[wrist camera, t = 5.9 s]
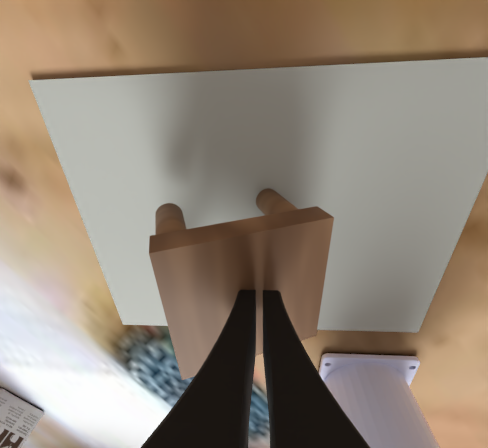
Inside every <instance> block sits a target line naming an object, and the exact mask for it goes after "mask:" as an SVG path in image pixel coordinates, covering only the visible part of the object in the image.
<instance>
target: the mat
mask: <svg viewBox="0 0 488 448" xmlns="http://www.w3.org/2000/svg"><path fill="white" fill-rule="evenodd" d="M28 81H29V83H30V86H31V88H32V91H33V94H34V96H35V99H36V101H37V104H38V106H39V109H40V112H41V114H42V117H43V119H44V122H45V125H46V127H47V130H48V132H49V135H50V137H51V140H52V143H53V145H54V148H55V150H56V153H57V155H58V158H59V161H60V163H61V166H62V168H63V171H64V174H65V176H66V179H67V181H68V184H69V186H70V189H71V192H72V194H73V197H74V199H75V202H76V204H77V207H78V210H79V212H80V215H81V217H82V220H83V222H84V225H85V228H86V230H87V233H88V235H89V238H90V241H91V243H92V246H93V248H94V251H95V253H96V256H97V259H98V261H99V264H100V266H101V269H102V271H103V274H104V277H105V279H106V282H107V284H108V287H109V290H110V292H111V295H112V297H113V300H114V302H115V305H116V308H117V310H118V313H119V315H120V318H121V320H122V323H123V324H124V325H161V326H168V324H167V320H166V317H165V313H164V309H163V305H162V301H161V298H160V294H159V290H158V286H157V282H156V279H155V275H154V271H153V267H152V263H151V260H150V256H149V239H150V236H151V235H155V214H156V211H157V209H158V208H159V207H160V206H161V205H163V204H166V203H173V204H176V205H177V206H179V207H180V208H181V210H182V212H183V216H184V221H185V225H186V229H191V228H196V227H202V226H208V225H213V224H219V223H225V222H230V221H236V220H242V219H247V218H253V217H259V216H264V213H263V212H262V211H261V210H260V209H259V208H258V207H257V205H256V198H257V195H258V194H259V193H260V192H261V191H262V190H264V189H267V188H270V189H273V190H275V191H276V192H277V193H278V194H280V195H281V196H282V197H284V198H285V199H286V200H288V201H289V202H290V203H291V204H293V205H294V206H295V207H297V208H298V209H304V208H309V207H315V206H318V207H319V208H321V209H322V210H324V211H325V212H327V213H328V214H330V215H331V216H333V217H334V222H333V228H332V235H331V241H330V248H329V255H328V261H327V268H326V274H325V281H324V288H323V294H322V301H321V307H320V314H319V321H318V327H317V330H344V331H381V332H419V329H420V327H421V325H422V322H423V320H424V318H425V315H426V313H427V311H428V309H429V306H430V304H431V302H432V299H433V297H434V295H435V292H436V290H437V288H438V286H439V283H440V281H441V279H442V276H443V274H444V272H445V269H446V267H447V265H448V263H449V260H450V258H451V256H452V253H453V251H454V249H455V246H456V244H457V242H458V239H459V237H460V235H461V233H462V230H463V228H464V226H465V223H466V221H467V219H468V216H469V214H470V212H471V210H472V207H473V205H474V203H475V200H476V198H477V196H478V193H479V191H480V189H481V186H482V184H483V182H484V180H485V177H486V175H487V173H488V57H481V58H461V59H441V60H422V61H402V62H382V63H362V64H343V65H323V66H303V67H283V68H264V69H244V70H224V71H204V72H185V73H165V74H145V75H125V76H106V77H86V78H66V79H46V80H28Z"/></svg>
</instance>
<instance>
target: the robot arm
mask: <svg viewBox="0 0 488 448" xmlns="http://www.w3.org/2000/svg"><path fill="white" fill-rule="evenodd" d="M255 354H256V290H240V291H238V294H237V297H236V300H235V303H234V306H233V308H232V310H231V313H230V315H229V317H228V319H227V321H226V324H225V326H224V328H223V330H222V332H221V334H220V336H219V337H218V339H217V341H216V343H215V345H214V346H213V348H212V350H211V352H210V353H209V355H208V357H207V358H206V360H205V362H204V363H203V365H202V366H201V368H200V370H199V371H198V373H197V374H196V376H195V377H194V379H193V380H192V382H191V383H190V385H189V386H188V387H187V389H186V390H185V392H184V393H183V394H182V396H181V397H180V399H179V400H178V401H177V403H176V404H175V405H174V407H173V408H172V409H171V411H170V412H169V413H168V415H167V416H166V417H165V419H164V420H163V421H162V422H161V423H160V425H159V426H158V427H157V428H156V430H155V431H154V432H153V433H152V434H151V436H150V437H149V438H148V439H147V441H146V442H145V443H144V444H143V445H142V447H141V448H248V430H249V414H250V404H251V394H252V384H253V374H254V364H255ZM263 357H264V367H265V378H266V388H267V399H268V409H269V423H270V448H440V447H439V445H438V443H437V441H436V439H435V437H434V435H433V433H432V431H431V429H430V427H429V425H428V423H427V421H426V419H425V417H424V415H423V413H422V411H421V409H420V407H419V405H418V403H417V401H416V399H415V397H414V395H413V393H412V391H411V389H410V387H409V386H410V384H411V381H412V379H413V377H414V375H415V373H416V371H417V369H418V367H419V365H420V361H419V359H418V358H417V357H415V356H393V355H364V354H334V353H326V354H324V355H322V358H321V363H320V369H319V373H318V372H317V370H316V368H315V366H314V365H313V363H312V361H311V360H310V358H309V356H308V354H307V352H306V351H305V349H304V347H303V345H302V343H301V341H300V339H299V337H298V335H297V333H296V331H295V329H294V327H293V325H292V323H291V320H290V318H289V316H288V313H287V311H286V308H285V306H284V303H283V300H282V296H281V293H280V292H279V291H278V290H263Z"/></svg>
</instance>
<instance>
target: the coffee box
mask: <svg viewBox="0 0 488 448" xmlns="http://www.w3.org/2000/svg"><path fill="white" fill-rule="evenodd" d="M43 414H44V412H43V411H41V410H39V409H38V408H36V407H34V406H32V405H30V404H29V403H27V402H25V401H23V400H22V399H20V398H18V397H16V396H14V395H13V394H11V393H9V392H8V391H6V390H4V389H2V388H0V448H21V446H22V445H23V443H24V442H25V441H26V439H27V438H28V436H29V435H30V433H31V432H32V430H33V429H34V427H35V426H36V424H37V423H38V422H39V420H40V419H41V417H42V416H43Z"/></svg>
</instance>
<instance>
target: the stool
mask: <svg viewBox="0 0 488 448" xmlns="http://www.w3.org/2000/svg"><path fill="white" fill-rule="evenodd" d="M256 205H257V207H258V208H259V209H260V210H261V211H262V212H263V213H264V216H259V217H253V218H247V219H242V220H236V221H230V222H225V223H219V224H213V225H208V226H202V227H196V228H191V229H186V225H185V221H184V216H183V212H182V210H181V208H180V207H179V206H177V205H176V204H173V203H166V204H163V205H161V206H160V207H159V208H158V209H157V211H156V214H155V235H151V236H150V239H149V256H150V260H151V263H152V267H153V271H154V275H155V279H156V282H157V286H158V290H159V294H160V298H161V301H162V305H163V309H164V313H165V317H166V320H167V324H168V328H169V332H170V336H171V339H172V343H173V347H174V351H175V355H176V358H177V362H178V366H179V370H180V374H181V377H182V380H184V379H187V378H190V377H193V376H196V374H197V373H198V371H199V370H200V368H201V366H202V365H203V363H204V362H205V360H206V358H207V357H208V355H209V353H210V352H211V350H212V348H213V346H214V345H215V343H216V341H217V339H218V337H219V336H220V334H221V332H222V330H223V328H224V326H225V324H226V321H227V319H228V317H229V315H230V313H231V310H232V308H233V306H234V303H235V300H236V297H237V294H238V291H240V290H256V354H255V356H256V355H259V354H262V353H263V290H278V291H279V292H280V293H281V296H282V300H283V303H284V306H285V308H286V311H287V313H288V316H289V318H290V320H291V323H292V325H293V327H294V329H295V331H296V333H297V335H298V337H299V339H300V341H302V340H305V339H308V338H311V337H314V336H316V334H317V327H318V321H319V314H320V307H321V301H322V294H323V288H324V281H325V274H326V268H327V261H328V255H329V248H330V241H331V235H332V228H333V222H334V217H333V216H331V215H330V214H328V213H327V212H325V211H324V210H322V209H321V208H319V207H318V206H315V207H309V208H304V209H298V208H297V207H295V206H294V205H293V204H291V203H290V202H289V201H288V200H286V199H285V198H284V197H282V196H281V195H280V194H278V193H277V192H276V191H275V190H273V189H270V188H267V189H264V190H262V191H261V192H260V193H259V194H258V195H257V198H256Z"/></svg>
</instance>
